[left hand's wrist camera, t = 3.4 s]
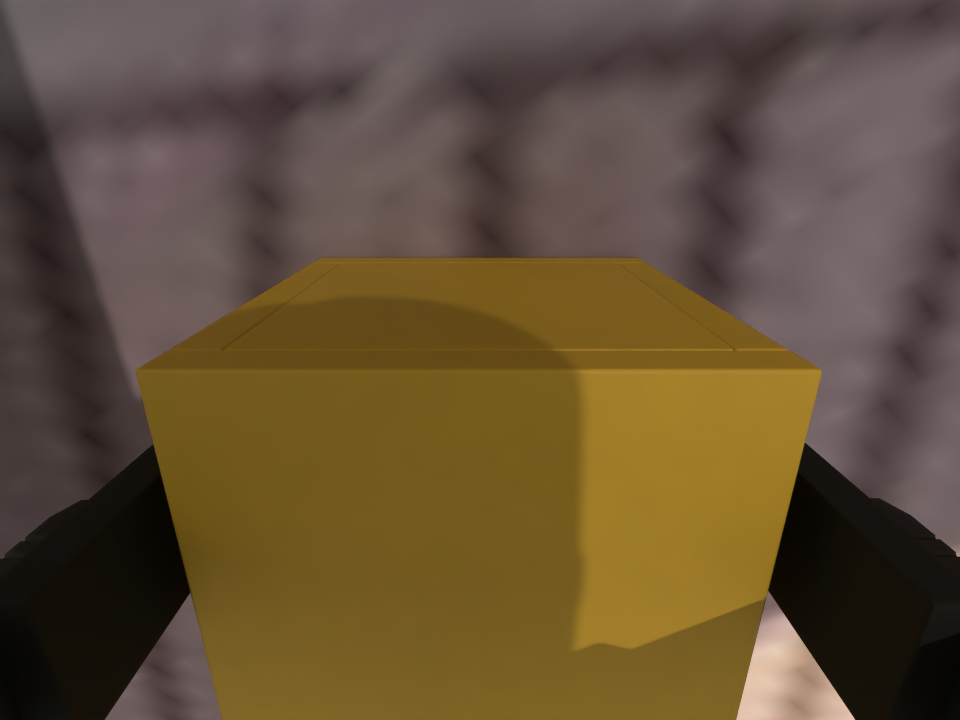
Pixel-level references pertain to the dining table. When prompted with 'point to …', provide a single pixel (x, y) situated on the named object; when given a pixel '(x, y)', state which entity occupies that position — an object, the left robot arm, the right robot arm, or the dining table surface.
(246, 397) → the cabinet
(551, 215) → the dining table surface
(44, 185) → the dining table surface
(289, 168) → the dining table surface
